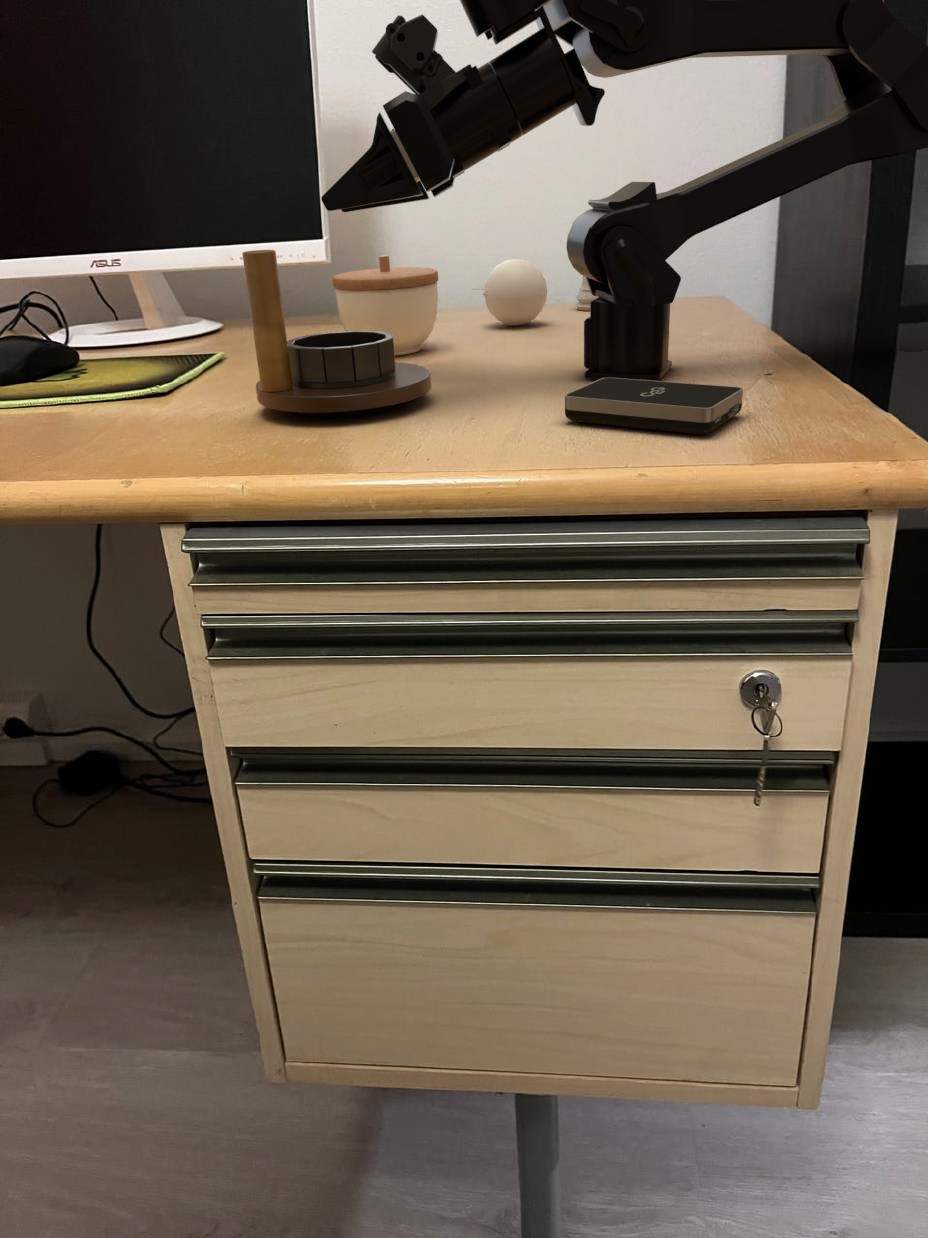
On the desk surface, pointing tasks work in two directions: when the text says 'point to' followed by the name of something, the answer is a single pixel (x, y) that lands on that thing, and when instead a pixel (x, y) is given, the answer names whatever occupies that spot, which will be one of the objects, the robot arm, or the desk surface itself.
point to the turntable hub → (347, 412)
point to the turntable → (321, 357)
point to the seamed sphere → (515, 292)
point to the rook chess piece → (584, 296)
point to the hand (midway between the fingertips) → (332, 205)
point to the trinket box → (389, 302)
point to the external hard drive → (654, 404)
